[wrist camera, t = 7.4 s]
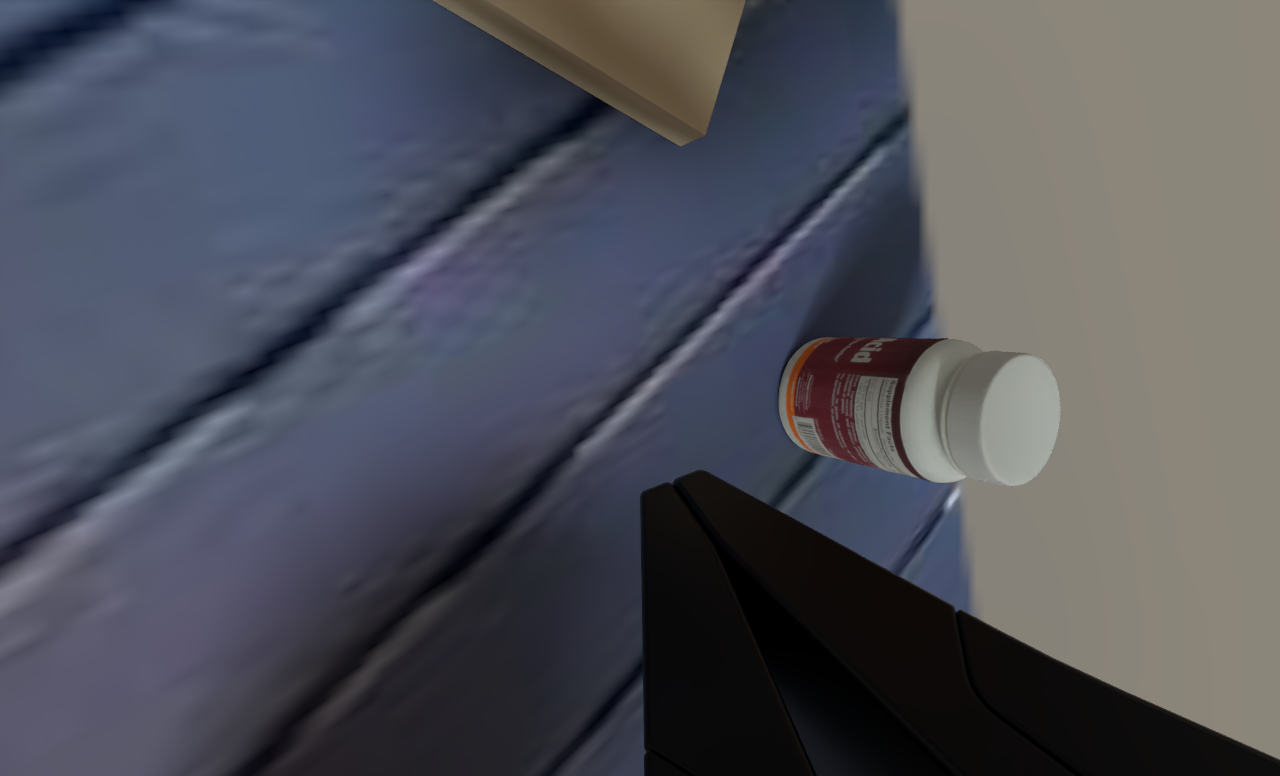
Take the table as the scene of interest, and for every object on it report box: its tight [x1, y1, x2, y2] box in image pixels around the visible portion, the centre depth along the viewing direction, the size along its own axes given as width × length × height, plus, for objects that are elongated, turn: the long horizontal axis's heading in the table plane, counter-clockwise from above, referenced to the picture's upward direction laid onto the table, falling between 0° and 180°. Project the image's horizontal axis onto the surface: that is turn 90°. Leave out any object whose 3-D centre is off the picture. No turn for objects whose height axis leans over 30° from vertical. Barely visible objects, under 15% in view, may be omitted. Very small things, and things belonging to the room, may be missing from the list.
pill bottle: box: [778, 337, 1060, 486], centre depth 23 cm, size 5×5×8 cm
